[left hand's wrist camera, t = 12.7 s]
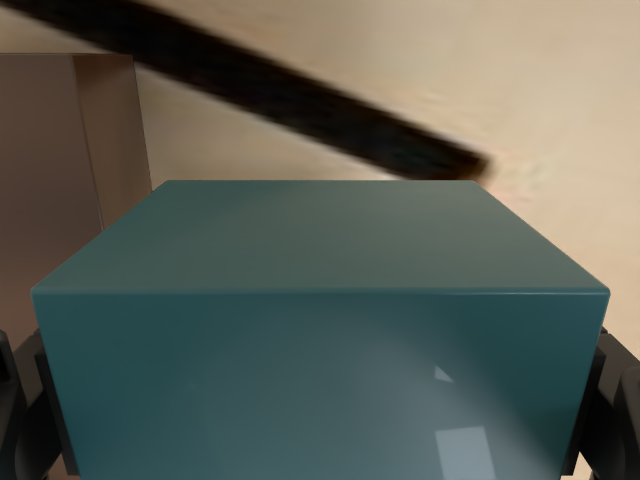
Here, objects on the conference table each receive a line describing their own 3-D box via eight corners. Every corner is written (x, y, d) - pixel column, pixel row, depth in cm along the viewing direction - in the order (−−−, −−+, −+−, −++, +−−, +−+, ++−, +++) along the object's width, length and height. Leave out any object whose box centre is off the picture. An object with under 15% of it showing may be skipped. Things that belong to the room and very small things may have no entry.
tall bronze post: (-11, 54, 19) (-120, 53, 14) (132, 54, 19) (70, 53, 14) (107, 521, 29) (66, 608, 25) (199, 522, 29) (176, 610, 25)
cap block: (165, 179, 12) (25, 289, 6) (474, 179, 12) (615, 289, 6) (190, 370, 14) (103, 577, 8) (449, 370, 14) (536, 578, 8)
